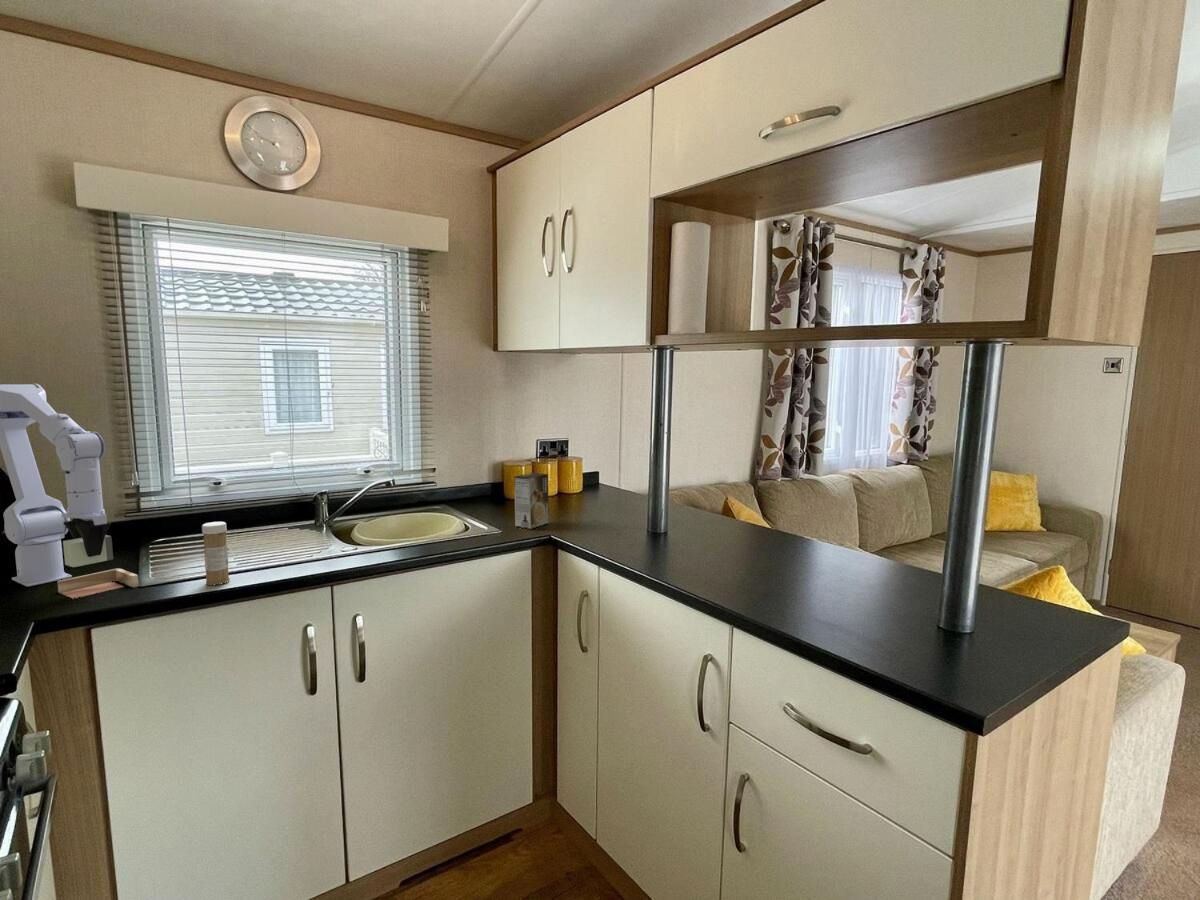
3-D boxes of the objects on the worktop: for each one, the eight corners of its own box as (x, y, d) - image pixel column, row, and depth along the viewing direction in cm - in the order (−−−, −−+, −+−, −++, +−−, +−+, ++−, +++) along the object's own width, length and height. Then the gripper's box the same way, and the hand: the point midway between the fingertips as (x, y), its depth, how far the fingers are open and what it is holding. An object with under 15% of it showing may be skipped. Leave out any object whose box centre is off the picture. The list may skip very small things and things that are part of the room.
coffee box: (533, 522, 201) (532, 472, 199) (549, 524, 197) (548, 473, 195) (514, 527, 193) (513, 475, 191) (530, 530, 189) (530, 477, 188)
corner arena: (58, 592, 133) (57, 581, 133) (119, 578, 142) (118, 568, 142) (76, 600, 128) (75, 589, 128) (138, 586, 137) (137, 575, 137)
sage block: (65, 564, 132) (62, 540, 131) (105, 556, 138) (103, 533, 137) (73, 567, 130) (70, 543, 129) (113, 559, 136) (111, 536, 135)
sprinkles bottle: (212, 579, 142) (208, 521, 140) (233, 579, 142) (230, 520, 141) (201, 586, 137) (197, 525, 136) (223, 585, 138) (219, 525, 136)
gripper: (46, 490, 133) (52, 553, 134) (74, 497, 125) (80, 563, 126) (87, 485, 139) (93, 546, 140) (116, 491, 131) (121, 555, 132)
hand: (89, 554), depth 134 cm, fingers closed on sage block, 4 cm apart
